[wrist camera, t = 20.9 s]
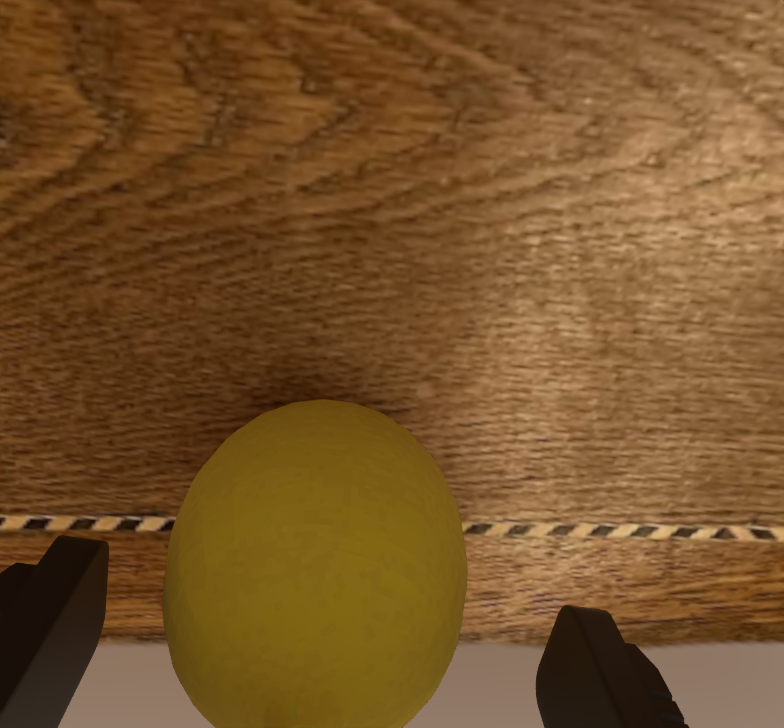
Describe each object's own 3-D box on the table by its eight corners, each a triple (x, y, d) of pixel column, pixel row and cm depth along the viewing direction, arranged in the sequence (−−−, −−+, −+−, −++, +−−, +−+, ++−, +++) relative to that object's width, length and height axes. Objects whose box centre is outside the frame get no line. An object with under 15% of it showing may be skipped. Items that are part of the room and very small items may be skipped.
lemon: (265, 564, 17) (195, 910, 10) (180, 384, 15) (11, 652, 8) (463, 508, 17) (545, 825, 9) (404, 316, 15) (450, 529, 7)
